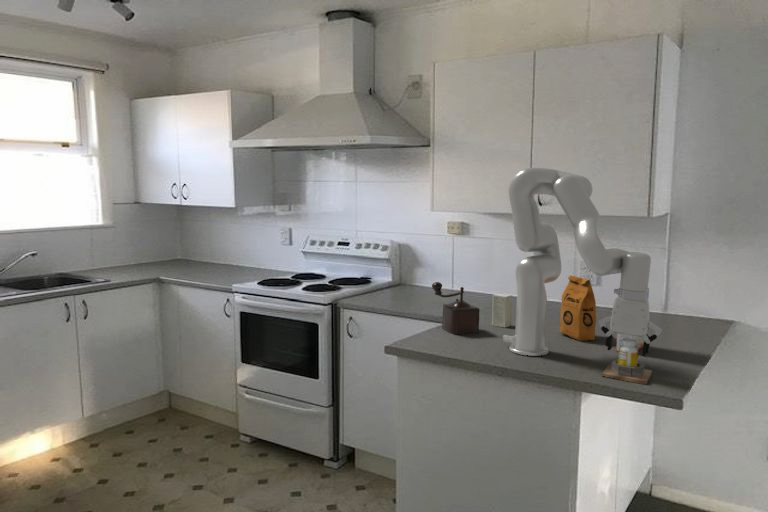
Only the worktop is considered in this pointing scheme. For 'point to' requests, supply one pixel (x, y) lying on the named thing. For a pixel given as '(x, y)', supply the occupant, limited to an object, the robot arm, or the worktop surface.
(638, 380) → the socket board
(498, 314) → the skincare box
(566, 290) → the coffee package
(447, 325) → the manual coffee grinder
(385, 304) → the worktop surface
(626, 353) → the supplement bottle
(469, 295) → the worktop surface
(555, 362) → the worktop surface
